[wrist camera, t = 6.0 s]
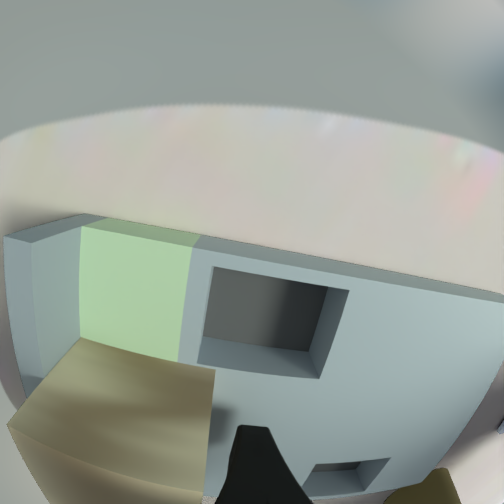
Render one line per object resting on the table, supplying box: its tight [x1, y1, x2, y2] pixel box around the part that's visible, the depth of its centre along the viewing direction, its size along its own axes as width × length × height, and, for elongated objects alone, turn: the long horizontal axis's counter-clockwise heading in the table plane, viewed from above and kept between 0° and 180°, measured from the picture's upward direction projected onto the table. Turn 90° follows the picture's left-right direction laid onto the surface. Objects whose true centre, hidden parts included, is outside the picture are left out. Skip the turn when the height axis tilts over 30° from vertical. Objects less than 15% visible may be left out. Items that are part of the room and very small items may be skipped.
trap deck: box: [4, 214, 504, 500], centre depth 9 cm, size 19×12×4 cm, turn 79°
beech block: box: [7, 337, 216, 504], centre depth 7 cm, size 5×5×5 cm
